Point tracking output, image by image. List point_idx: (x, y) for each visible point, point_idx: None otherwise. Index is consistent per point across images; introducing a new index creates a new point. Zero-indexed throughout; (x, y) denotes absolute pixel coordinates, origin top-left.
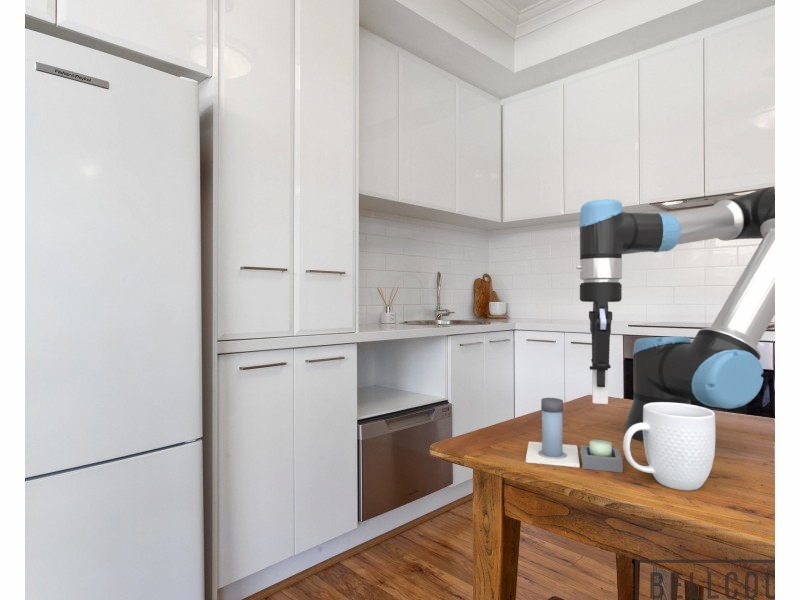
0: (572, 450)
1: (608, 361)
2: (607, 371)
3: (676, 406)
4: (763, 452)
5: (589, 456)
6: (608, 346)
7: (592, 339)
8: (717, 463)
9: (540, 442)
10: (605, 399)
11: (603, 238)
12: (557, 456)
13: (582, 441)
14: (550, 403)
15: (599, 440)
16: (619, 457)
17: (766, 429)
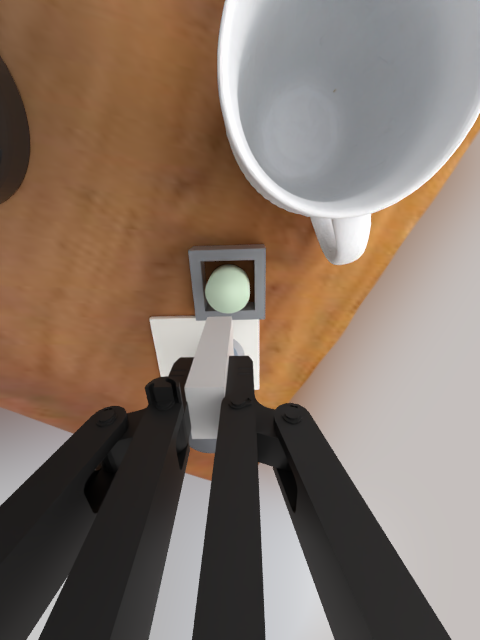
0: (184, 326)
1: (323, 438)
2: (224, 385)
3: (232, 54)
4: None
5: (263, 307)
6: (397, 560)
7: (26, 633)
8: None
9: (161, 374)
10: (231, 329)
11: None
12: (235, 349)
13: (100, 305)
14: None
15: (210, 294)
16: (252, 253)
17: None
